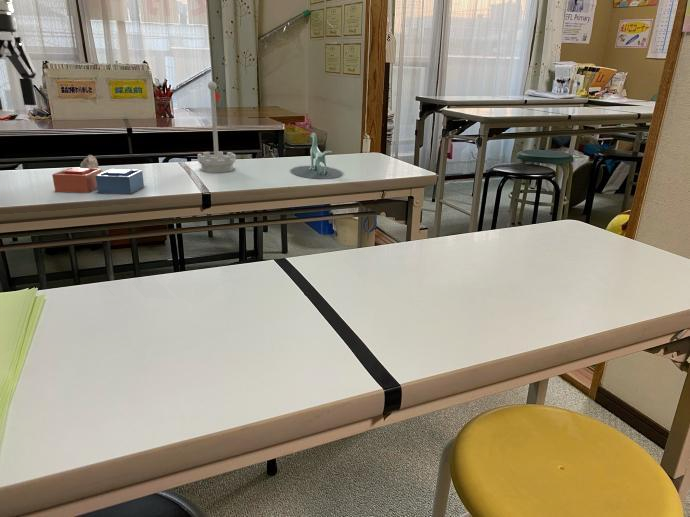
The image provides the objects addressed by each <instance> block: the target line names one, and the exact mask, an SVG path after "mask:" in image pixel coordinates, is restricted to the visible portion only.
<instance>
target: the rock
mask: <svg viewBox="0 0 690 517" xmlns="http://www.w3.org/2000/svg"><path fill="white" fill-rule="evenodd" d="M79 168H92V169H100V166H99V163H98V160H97V157H96V156H93V155H92V154H87V157H85V158H84V159H83V161H81V163H80V166H79ZM103 172H105V171H104V170H102V173H103Z"/></svg>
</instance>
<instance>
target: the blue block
mask: <svg viewBox="0 0 690 517" xmlns="http://www.w3.org/2000/svg"><path fill="white" fill-rule="evenodd" d="M114 169H115V170H112V171H110V172H108V176H130V175H132V170H133V169H123V170H122V168H121V169H118V168H114Z"/></svg>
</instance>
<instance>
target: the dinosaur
mask: <svg viewBox="0 0 690 517" xmlns="http://www.w3.org/2000/svg"><path fill="white" fill-rule="evenodd" d="M310 138H312V145H311V147H310V150H309V151H310V161H311V162H310V163H311V164H310V165H303V166H295V167H294V168H291V170H290V171H291V173H292V174H293V175H295V176H298V177H302V178H307V179H317V180H329V179H336V178H339V177H341V176H342V175H343V172H342V171H340V170H339V169H337V168H333V167H328V166H327V160H326V156H327V155H328V154H330V153H331V154H332V153H334V152H333V151H332V150H324V151H323V152H322V151H320V149H319V147H318V146H319V145H318V136H317V134H316V133H315V132H311V133H310ZM314 160H315V162H314ZM321 163H322V164H323V165H324V166H322V165H321Z"/></svg>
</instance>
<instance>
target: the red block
mask: <svg viewBox="0 0 690 517" xmlns="http://www.w3.org/2000/svg"><path fill="white" fill-rule="evenodd" d="M71 168H72V169H70V170H67V171H65V174H70V175H86V174H88V173H91V172H90V168H80V167H71Z"/></svg>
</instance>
